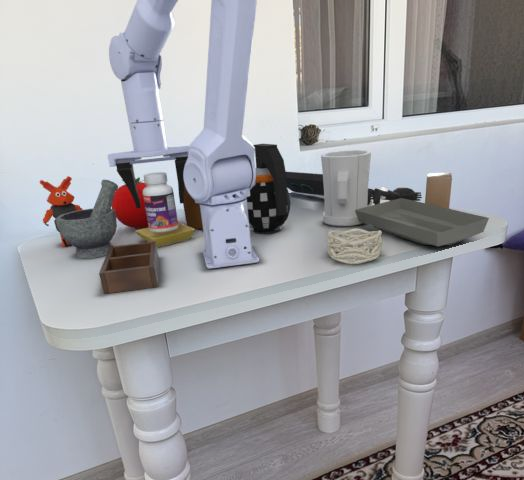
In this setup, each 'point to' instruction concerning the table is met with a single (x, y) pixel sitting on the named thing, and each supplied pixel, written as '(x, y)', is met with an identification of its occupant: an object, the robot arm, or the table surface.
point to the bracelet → (343, 243)
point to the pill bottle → (159, 203)
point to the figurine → (392, 194)
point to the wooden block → (438, 189)
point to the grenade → (268, 191)
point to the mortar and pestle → (91, 225)
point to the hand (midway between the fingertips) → (160, 204)
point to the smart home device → (305, 183)
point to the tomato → (130, 206)
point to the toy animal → (59, 203)
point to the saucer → (167, 235)
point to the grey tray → (422, 221)
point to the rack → (130, 267)
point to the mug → (192, 212)
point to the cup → (345, 186)
